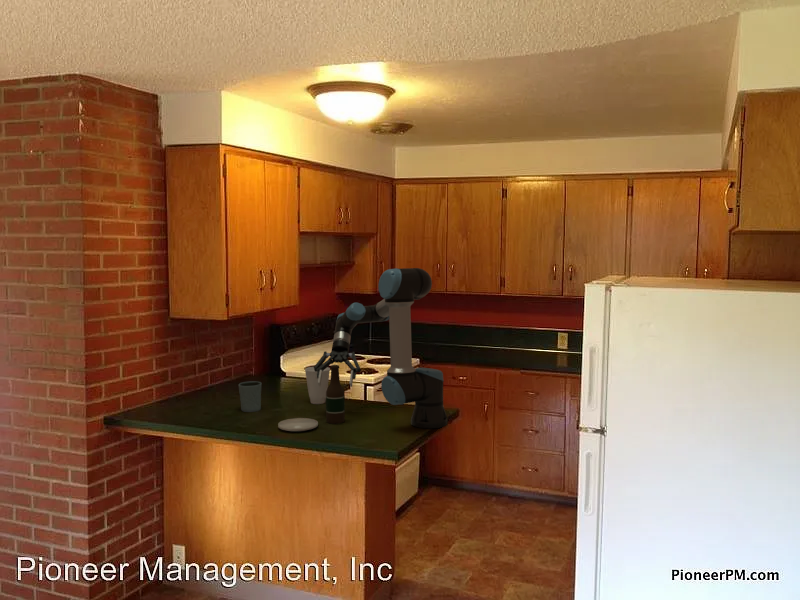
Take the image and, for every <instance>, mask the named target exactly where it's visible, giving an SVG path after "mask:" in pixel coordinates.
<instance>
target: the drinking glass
mask: <svg viewBox="0 0 800 600" xmlns="http://www.w3.org/2000/svg"><path fill="white" fill-rule="evenodd" d="M237 386H238V391H239V400H240V410H241V411H242V412H245V413H254V412H259V411H261V409H262V407H261V405H262V402H261V401H262V395H261V394H262V382H261V381H255V380H254V381H252V380H251V381H243V382H240V383H239V384H238V385H237Z"/></svg>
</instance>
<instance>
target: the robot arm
mask: <svg viewBox="0 0 800 600" xmlns="http://www.w3.org/2000/svg"><path fill="white" fill-rule="evenodd" d="M432 286H433V281H432V277H431V275H430V273H428V271H426V270H424V269H422V268H418V267H413V268H412V267H411V268H410V267H408V268H407V267H406V268H397V267H396V268H388V269H386V270H385V271H383V272H382V274H381V275H380V277H379V281H378V293H379V296H380V297H381V298H383V299H382V300H381V301H379V302H377V303H376V304H373V305H363V303H359V302H353V303H351V304H350V305H349V306H348V307H347V308H346V310H345V312H342V313H339V314H338V316H337V318H336V321H335V328H334V333H333V334H334V335H333V341H332V344H331V345H332V346H331V352H327V350H326V351H325V350H324V351H323V354H322V356H321V357H320V359H318V361H317V363H315V365H314V366H313V367H314V370H315V372H316V371H317V378H318V385H319V386H321V380H322V374H323V373H322V371H323V370H324V369H326V368H327V367H328V368H329V366H331V365H334V363H337V364H339V363H341V364H342V363H344V364H345V365H346V366H348V368H349V369H350V376H349V383H348V384H349V387H353V384H354V383H353V381H354V380H356V377H357V373H361V372H362V370H361V367H360V364H359V362H358V360H357V358H356V354H355V351H352V352H350V343H351V338H352V331H353V329H354V328H355V327H356V326H357V325H358V324H366V323H383V322H387V321H388V323H389V325H388V326H389V354H390V355H389V357H390V358H389V359H390V367H388V369H387V370H386V376H384V377H383V378H382V380H381V392H382V394H383V397H384V399H385V400H386V401H387V402H388V403H389V404H390V405H392V406H398V405H401V406H402V405H406V404H409V403H414V408H413V411H412V414H411V418H410V424H411V426H413V427H416V428H420V429H439V428H444V427H446V426H447V425H448V416H447V413H446V411H445V407H444V382H445V381H444V373H443V371H442V370H440V369H436V368H429V367H416V368H415V367H414V366H413V357H412V355H413V353H412V348H413V347H412V321H411V318H412V317H411V316H412V315H411V313H412V311H411V306H412V305H413V304H414V303H415V300H418V301H419V300H421V299H423V298H424V297H426V295H428V294H429V293H430V292H431V290H432ZM349 357H350V359H352V362H353V363H351V362H350V361H351V360H349ZM353 364H354V365H353Z"/></svg>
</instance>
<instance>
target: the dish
mask: <svg viewBox="0 0 800 600" xmlns="http://www.w3.org/2000/svg"><path fill="white" fill-rule="evenodd" d="M277 425H278V426H277V427H278V429H280V430H283V431H288V432H293V433H294V432H296V433H298V432H299V433H300V432H306V431H309V430H312V429H316V428H317V427H318V425H319V422H318V420H316V419H313V418H306V417H304V418H303V417H298V418H297V417H296V418H288V419H284V420H281V421H279V422H278V424H277Z"/></svg>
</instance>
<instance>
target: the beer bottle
mask: <svg viewBox="0 0 800 600" xmlns="http://www.w3.org/2000/svg"><path fill="white" fill-rule="evenodd" d="M329 368H330V381H329V384H328V388H327V391H326V400H325V413H326V415H325V419H326V420H325V421H326V422H327V423H328V424H332V425H338V424H342V423H344V422H345V421H346V420H345V419H346V417H345V416H346V415H345V413H346V412H345V411H346V410H345V407H346V405H345V402H346V401H345V400H346V398H345V390H344V387H343V386H342V384H341V381H340V370H339V369H340V365H338V364H331V365H330V367H329Z"/></svg>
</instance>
